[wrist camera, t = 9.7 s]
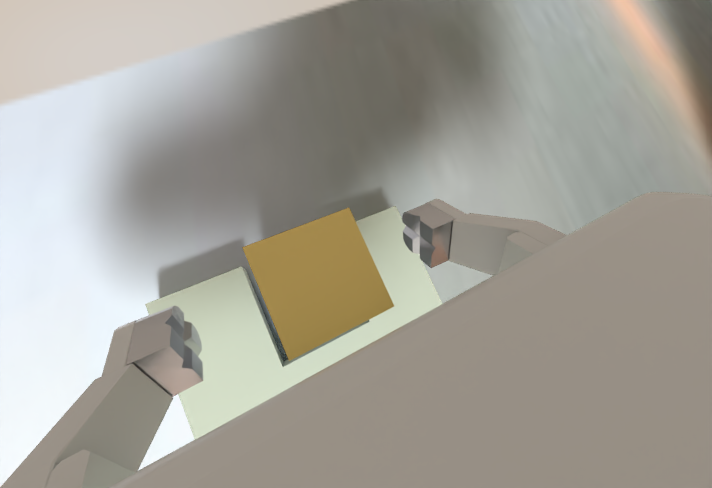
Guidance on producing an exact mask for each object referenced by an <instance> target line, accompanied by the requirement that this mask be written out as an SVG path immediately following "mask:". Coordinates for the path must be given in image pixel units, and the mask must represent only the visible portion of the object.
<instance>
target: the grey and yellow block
mask: <svg viewBox="0 0 712 488" xmlns="http://www.w3.org/2000/svg"><path fill="white" fill-rule="evenodd" d="M242 248H243V250H244V253H245V255H246V258H247V260H248V262H249V265H250V267H251V270H252V272H253V275H254V277H255V279H256V282H257V284H258V287H259V289H260V292H261V294H262V296H263V299H264V301H265V304H266V306H267V309H268V311H269V313H270V316H271V318H272V321H273V323H274V326H275V328H276V330H277V333H278V335H279V338H280V340H281V343H282V345H283V347H284V350H285V352H286V355H287V357H288V360H289V361H290V360H292V359H294V358H296V357H298V356H300V355H302V354H304V353H306V352H308V351H310V350H312V349H314V348H315V347H317V346H319V345H321V344H323V343H325V342H327V341H329V340H331V339H333V338H335V337H337V336H338V335H340V334H342V333H344V332H346V331H348V330H350V329H352V328H354V327H356V326H358V325H360V324H362V323H363V322H365V321H367V320H369V319H371V318H373V317H375V316H377V315H379V314H381V313H383V312H385V311H387V310H388V309H390V308H392V307H394V304H393V302H392V300H391V298H390V295H389V293H388V291H387V289H386V287H385V285H384V282H383V280H382V278H381V276H380V274H379V271H378V269H377V267H376V265H375V263H374V261H373V258H372V256H371V254H370V252H369V250H368V247H367V245H366V243H365V241H364V239H363V237H362V234H361V232H360V230H359V228H358V226H357V224H356V221H355V219H354V217H353V215H352V213H351V210H350V208H346V209H344V210H341V211H338V212H336V213H333V214H330V215H328V216H325V217H322V218H320V219H317V220H314V221H312V222H309V223H306V224H304V225H301V226H298V227H295V228H293V229H290V230H287V231H285V232H282V233H279V234H277V235H274V236H271V237H269V238H266V239H263V240H261V241H258V242H255V243H253V244H250V245H247V246H245V247H242Z"/></svg>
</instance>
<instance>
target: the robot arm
mask: <svg viewBox="0 0 712 488" xmlns="http://www.w3.org/2000/svg"><path fill="white" fill-rule="evenodd" d="M402 222H403V223H404V224H405V225H406V226H405V228H404V230H403V239H404V242H405V244H406V246H407V247H408V249H409V250H410V251H411V252H413V253H416V254H420V259H421V260H422V261H423V262H424V263H425V264H427V265H428V266H429V267H430V268H433V267H435V266H437V265H439V264H441V263H443V262H446V261H448V260H449V261H451V262H454V263H457V264H460V265H463V266H466V267H469V268H472V269H475V270H478V271H481V272H484V273H487V274H490V275H493V276H492V277H490V278H489V279H487V280H485V281H483V282H481V283H479V284H478V285H476V286H474V287H472V288H470V289H469V290H467V291H465V292H463V293H461V294H459V295H458V296H456V297H454V298H452V299H450V300H449V301H447V302H445V303H443V304H441V305H439V306H438V307H436V308H434V309H432V310H430V311H429V312H427V313H425V314H423V315H421V316H419V317H418V318H416V319H414V320H412V321H410V322H408V323H407V324H405V325H403V326H401V327H399V328H398V329H396V330H394V331H392V332H390V333H388V334H387V335H385V336H383V337H381V338H379V339H378V340H376V341H374V342H372V343H370V344H368V345H367V346H365V347H363V348H361V349H359V350H357V351H356V352H354V353H352V354H350V355H348V356H347V357H345V358H343V359H341V360H339V361H337V362H336V363H334V364H332V365H330V366H328V367H327V368H325V369H323V370H321V371H319V372H317V373H316V374H314V375H312V376H310V377H308V378H306V379H305V380H303V381H301V382H299V383H297V384H296V385H294V386H292V387H290V388H288V389H286V390H285V391H283V392H281V393H279V394H277V395H276V396H274V397H272V398H270V399H268V400H266V401H265V402H263V403H261V404H259V405H257V406H256V407H254V408H252V409H250V410H248V411H246V412H245V413H243V414H241V415H239V416H237V417H235V418H234V419H232V420H230V421H228V422H226V423H225V424H223V425H221V426H219V427H217V428H215V429H214V430H212V431H210V432H208V433H206V434H205V435H203V436H201V437H199V438H197V439H195V440H194V441H192V442H190V443H188V444H186V445H185V446H183V447H181V448H179V449H177V450H175V451H174V452H172V453H170V454H168V455H166V456H164V457H163V458H161V459H159V460H157V461H155V462H154V463H152V464H150V465H148V466H146V467H144V468H143V469H141V470H139V471H138V469H139V467H140V465H141V462H142V460H143V458H144V456H145V454H146V452H147V450H148V448H149V446H150V444H151V442H152V440H153V438H154V436H155V434H156V432H157V430H158V428H159V426H160V424H161V422H162V420H163V418H164V416H165V414H166V412H167V410H168V408H169V406H170V404H171V401H172V399H173V398H172V397H173V396H175V395H177V394H179V393H181V392H183V391H184V390H186V389H188V388H190V387H192V386H194V385H196V384H198V383H200V382H202V381H203V362H202V361H201V360H200V358H199V357H198V356H199V354H200V352H201V351H202V345H201V340H200V337H199V333H198V332H197V330H196V328H195V327H194V325H193V324H192V323H191V322H187V321H184V313H183V312H182V310H181V309H180V308H179V307H178V306H172V307H169V308H167V309H164V310H162V311H159V312H156V313H154V314H151V315H149V316H146V317H143V318H141V319H138V320H137V321H133V322H131V323H128V324H126V325H123V326H121V327H118V328H117V329H116V330H115V331H114V333H113V337H112V341H111V344H110V348H109V352H108V355H107V359H106V363H105V366H104V370H103V373H102V377H100V378H98V379H95V380H94V381H93V383H92V384H91V385H90V386H89V387H88V388H87V389H86V390H85V392H84V393H83V394H82V395H81V396H80V397H79V398H78V400H77V401H76V402H75V403H74V404H73V405H72V406H71V408H70V409H69V410H68V411H67V412H66V413H65V414H64V416H63V417H62V418H61V419H60V420H59V421H58V422H57V424H56V425H55V426H54V427H53V428H52V429H51V430H50V431H49V433H48V434H47V435H46V436H45V437H44V438H43V439H42V441H41V442H40V443H39V444H38V445H37V446H36V447H35V449H34V450H33V451H32V452H31V453H30V454H29V455H28V457H27V458H26V459H25V460H24V461H23V462H22V463H21V465H20V466H19V467H18V468H17V469H16V470H15V471H14V472H13V474H12V475H11V476H10V477H9V478H8V479H7V480H6V482H5V483H4V484H3V485H2V486H1V487H0V488H712V196H710V195H701V194H689V193H672V192H650V193H645V194H642V195H640V196H638V197H636V198H634V199H632V200H630V201H629V202H627V203H625V204H623V205H621V206H620V207H618V208H616V209H614V210H612V211H611V212H609V213H607V214H605V215H603V216H602V217H600V218H598V219H596V220H594V221H592V222H591V223H589V224H587V225H585V226H583V227H582V228H580V229H578V230H576V231H574V232H572V233H571V234H569V235H565V234H563V233H561V232H559V231H557V230H555V229H552V228H550V227H548V226H546V225H544V224H542V223H540V222H537V221H531V220H523V219H515V218H506V217H498V216H490V215H481V214H473V213H469V214H465V213H463V212H462V211H460V210H458V209H456V208H454V207H452V206H451V205H449V204H447V203H445V202H443V201H442V200H440V199H434V200H432V201H430V202H427V203H425V204H424V205H421V206H419V207H417V208H414V209H412V210H409V211H407V212H404V213H403V216H402Z"/></svg>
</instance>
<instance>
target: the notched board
mask: <svg viewBox="0 0 712 488" xmlns="http://www.w3.org/2000/svg"><path fill="white" fill-rule="evenodd" d="M356 224H357V226H358V228H359V230H360V232H361V234H362V237H363V239H364V241H365V243H366V245H367V247H368V250H369V252H370V254H371V256H372V258H373V261H374V263H375V265H376V267H377V269H378V271H379V274H380V276H381V278H382V280H383V282H384V285H385V287H386V289H387V291H388V293H389V295H390V298H391V300H392V302H393V304H394V307H392V308H390V309H388V310H387V311H385V312H383V313H381V314H379V315H377V316H375V317H373V318H371V319H369V320H367V321H365V322H363V323H362V324H360V325H358V326H356V327H354V328H352V329H350V330H348V331H346V332H344V333H342V334H340V335H338V336H337V337H335V338H333V339H331V340H329V341H327V342H325V343H323V344H321V345H319V346H317V347H315V348H314V349H312V350H310V351H308V352H306V353H304V354H302V355H300V356H298V357H296V358H294V359H292V360H290V361H289V360H288V359H287V360H285V361H283V359H282V357H281V354H280V352H279V349H278V347H277V345H276V342H275V340H274V337H273V335H272V332H271V330H270V327H269V325H268V323H267V320H266V318H265V315H264V313H263V310H262V308H261V306H260V303H259V301H258V298H257V296H256V293H255V291H254V288H253V286H252V284H251V281H250V279H249V276H248V274H247V271H246V269H244V268H243V267H242V266H241V267H239V268H236V269H233V270H231V271H228V272H226V273H223V274H221V275H218V276H216V277H213V278H211V279H208V280H206V281H203V282H200V283H198V284H195V285H193V286H190V287H188V288H185V289H183V290H180V291H178V292H175V293H172V294H170V295H167V296H165V297H162V298H160V299H157V300H155V301H152V302H150V303H147V304H145V305H146V307H147V310H148V313H149V315H151V314H154V313H156V312H159V311H162V310H164V309H167V308H169V307H172V306H178V307H179V308H180V309H181V310H182V312H183V313H184V321H187V322H191V323H192V324H193V325H194V327H195V328H196V330H197V332H198V333H199V337H200V340H201V345H202V351H201V352H200V354H199V356H198V357H199V358H200V360H201V361H202V362H203V381H202V382H200V383H198V384H196V385H194V386H192V387H190V388H188V389H186V390H184V391H183V392H181V393H179V394H178V395H179V397H180V400H181V403H182V406H183V408H184V411H185V414H186V416H187V419H188V422H189V425H190V427H191V430H192V433H193V435H194V438H195V439H197V438H199V437H201V436H203V435H205V434H206V433H208V432H210V431H212V430H214V429H215V428H217V427H219V426H221V425H223V424H225V423H226V422H228V421H230V420H232V419H234V418H235V417H237V416H239V415H241V414H243V413H245V412H246V411H248V410H250V409H252V408H254V407H256V406H257V405H259V404H261V403H263V402H265V401H266V400H268V399H270V398H272V397H274V396H276V395H277V394H279V393H281V392H283V391H285V390H286V389H288V388H290V387H292V386H294V385H296V384H297V383H299V382H301V381H303V380H305V379H306V378H308V377H310V376H312V375H314V374H316V373H317V372H319V371H321V370H323V369H325V368H327V367H328V366H330V365H332V364H334V363H336V362H337V361H339V360H341V359H343V358H345V357H347V356H348V355H350V354H352V353H354V352H356V351H357V350H359V349H361V348H363V347H365V346H367V345H368V344H370V343H372V342H374V341H376V340H378V339H379V338H381V337H383V336H385V335H387V334H388V333H390V332H392V331H394V330H396V329H398V328H399V327H401V326H403V325H405V324H407V323H408V322H410V321H412V320H414V319H416V318H418V317H419V316H421V315H423V314H425V313H427V312H429V311H430V310H432V309H434V308H436V307H438V306H439V305H441V304H442V302H441V300H440V298H439V295H438V293H437V291H436V289H435V287H434V285H433V283H432V281H431V279H430V277H429V275H428V272H427V270H426V268H425V266H424V264H423V262H422V260H421V259H420V256H419V254H416V253H413V252H411V251H410V250H409V249H408V247H407V246H406V244H405V242H404V239H403V230H404V228H405V224H404V223H403V222H402V218H401V216H400V214H399V212H398V210H397V208H396V206H394V207H391V208H389V209H386V210H383V211H381V212H378V213H376V214H373V215H371V216H368V217H366V218H363V219H361V220H358V221H356Z"/></svg>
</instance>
